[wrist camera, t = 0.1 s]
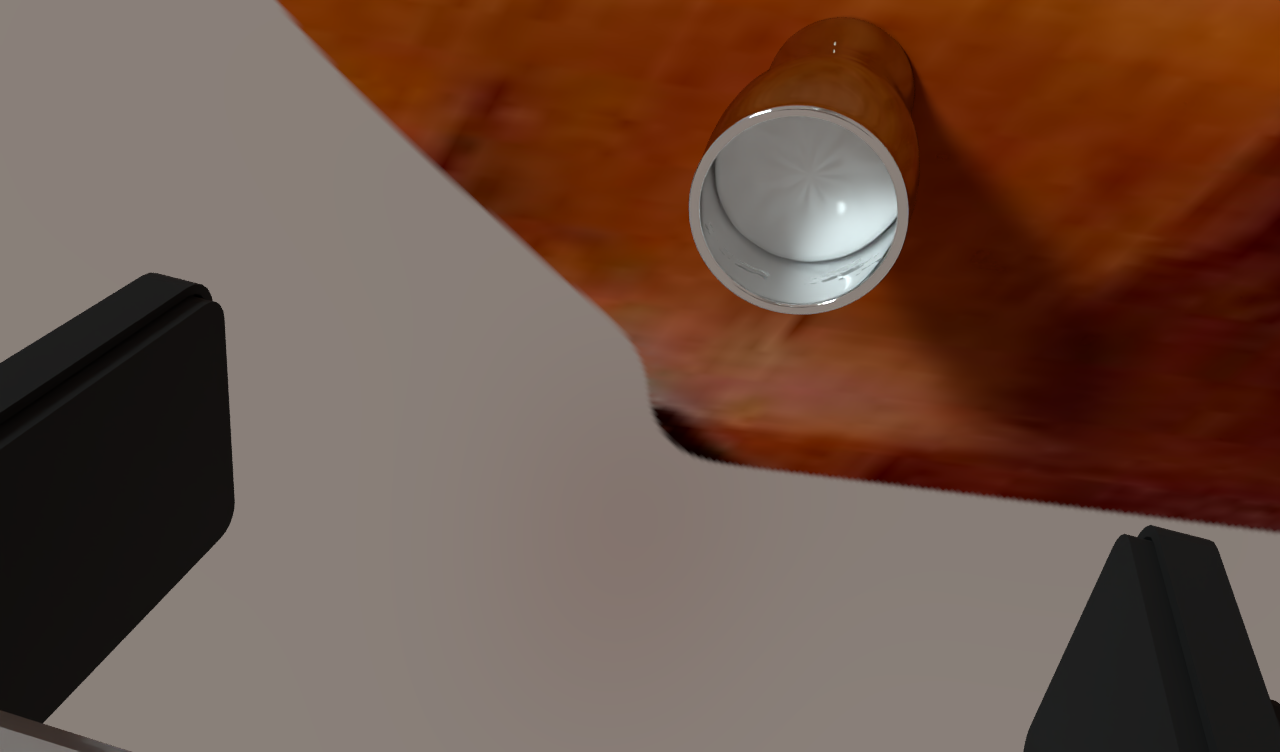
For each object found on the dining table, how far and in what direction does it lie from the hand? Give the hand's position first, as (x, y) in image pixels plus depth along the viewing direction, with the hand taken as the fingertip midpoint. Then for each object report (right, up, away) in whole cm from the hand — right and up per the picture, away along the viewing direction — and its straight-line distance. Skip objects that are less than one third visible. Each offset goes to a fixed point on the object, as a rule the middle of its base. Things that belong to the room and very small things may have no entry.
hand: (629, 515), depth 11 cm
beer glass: (+8, +13, +34) cm, 38 cm away
